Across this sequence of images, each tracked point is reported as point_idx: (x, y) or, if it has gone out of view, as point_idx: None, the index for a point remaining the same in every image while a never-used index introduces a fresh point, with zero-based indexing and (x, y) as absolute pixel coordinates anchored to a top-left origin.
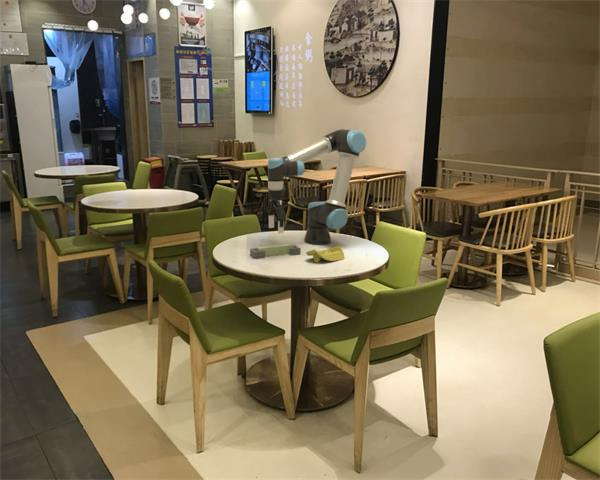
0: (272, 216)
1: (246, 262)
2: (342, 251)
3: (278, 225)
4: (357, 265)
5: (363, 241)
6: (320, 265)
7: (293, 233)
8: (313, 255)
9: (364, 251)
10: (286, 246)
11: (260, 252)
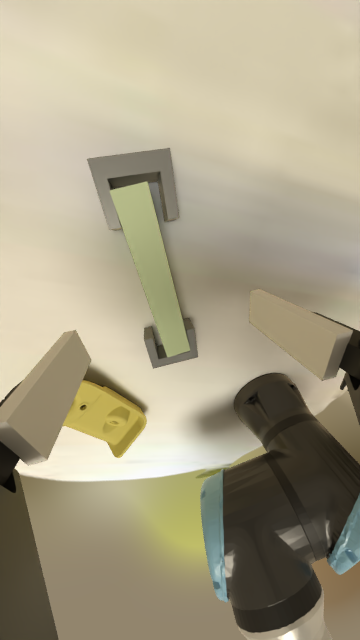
0: (317, 360)
1: (17, 94)
2: (111, 448)
3: (28, 376)
4: None
5: (231, 456)
6: None
7: None
8: None
9: (161, 459)
10: (158, 331)
11: (100, 201)
